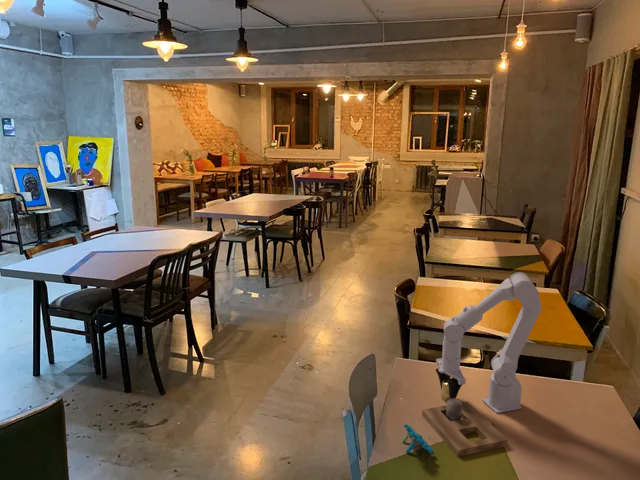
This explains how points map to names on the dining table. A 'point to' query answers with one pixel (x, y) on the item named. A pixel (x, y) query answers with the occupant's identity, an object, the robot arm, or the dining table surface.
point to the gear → (415, 439)
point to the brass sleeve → (445, 391)
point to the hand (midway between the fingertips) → (448, 393)
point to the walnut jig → (463, 427)
